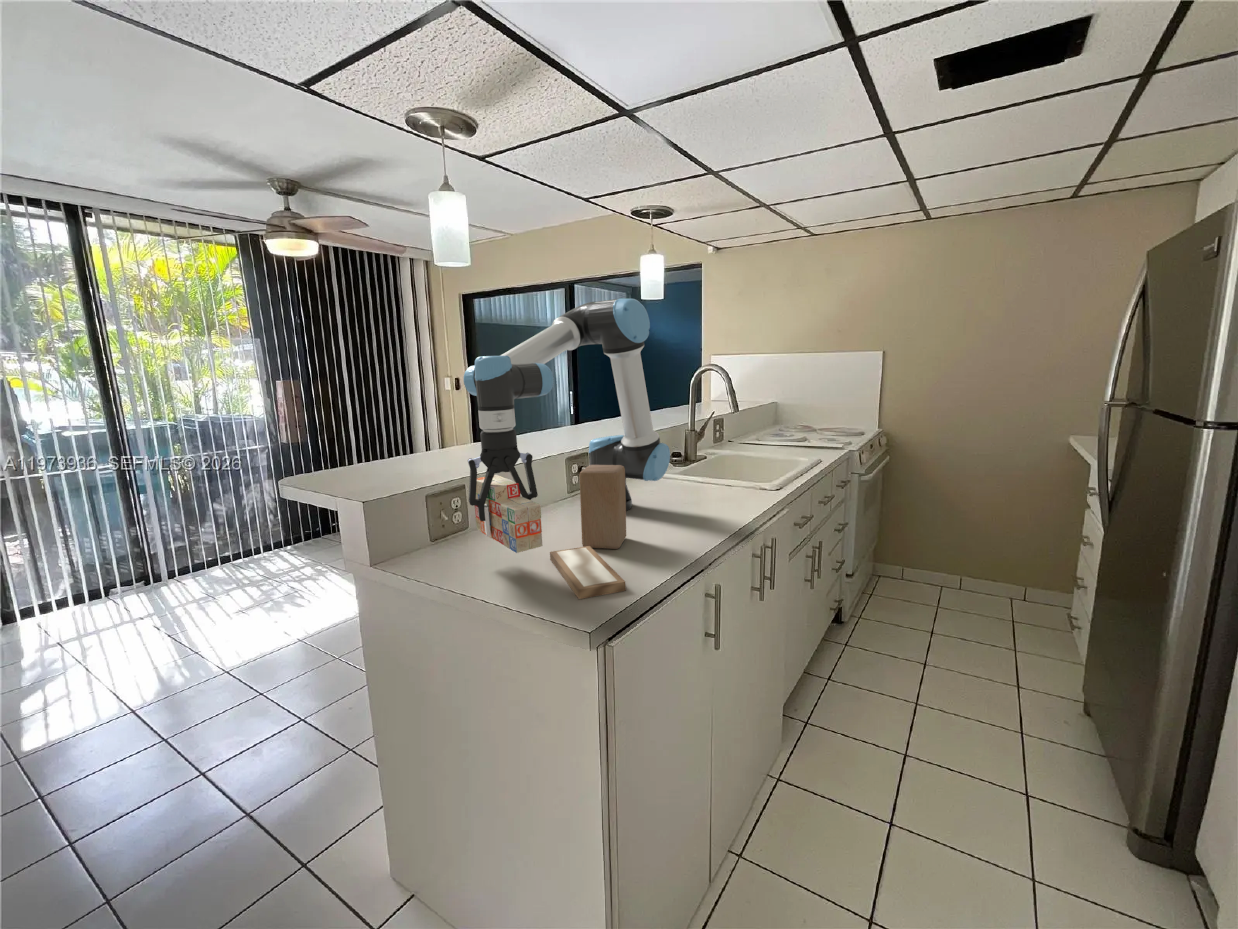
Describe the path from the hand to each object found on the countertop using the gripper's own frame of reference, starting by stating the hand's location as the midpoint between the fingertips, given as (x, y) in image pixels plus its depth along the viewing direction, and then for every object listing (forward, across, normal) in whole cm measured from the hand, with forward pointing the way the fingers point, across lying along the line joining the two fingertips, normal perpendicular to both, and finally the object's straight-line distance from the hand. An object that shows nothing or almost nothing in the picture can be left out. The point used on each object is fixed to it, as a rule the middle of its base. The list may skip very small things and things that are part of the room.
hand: (506, 531), depth 119 cm
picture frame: (+10, +16, -7) cm, 20 cm away
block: (+11, +26, +11) cm, 30 cm away
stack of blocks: (+2, 0, 0) cm, 2 cm away
